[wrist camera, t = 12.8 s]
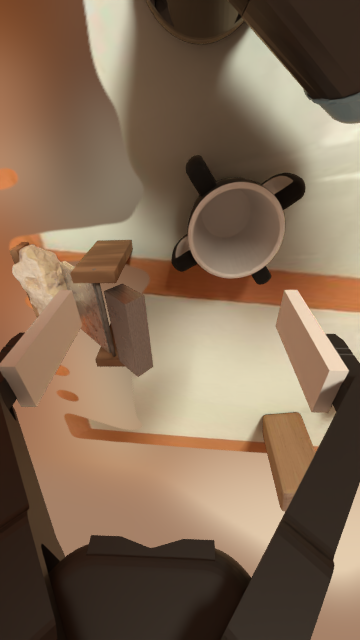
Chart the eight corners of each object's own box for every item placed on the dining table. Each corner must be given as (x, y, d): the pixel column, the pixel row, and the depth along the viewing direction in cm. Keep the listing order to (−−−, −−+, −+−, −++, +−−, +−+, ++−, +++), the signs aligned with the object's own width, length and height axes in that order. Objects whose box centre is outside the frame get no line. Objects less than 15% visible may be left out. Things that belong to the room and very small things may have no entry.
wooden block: (297, 431, 77) (326, 512, 61) (262, 434, 79) (281, 513, 62) (300, 410, 72) (332, 492, 55) (262, 413, 73) (282, 494, 57)
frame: (21, 242, 47) (-27, 274, 37) (131, 240, 46) (114, 272, 36) (52, 323, 57) (21, 366, 47) (142, 322, 57) (131, 366, 46)
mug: (296, 174, 40) (331, 188, 30) (251, 269, 49) (266, 303, 39) (192, 137, 38) (193, 140, 28) (164, 244, 47) (158, 274, 37)
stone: (95, 284, 52) (63, 310, 56) (41, 233, 46) (10, 265, 50) (80, 305, 45) (46, 333, 49) (16, 248, 40) (-17, 284, 44)
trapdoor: (75, 257, 46) (59, 262, 45) (143, 294, 35) (124, 302, 33) (92, 320, 54) (79, 327, 52) (153, 367, 43) (138, 377, 41)
